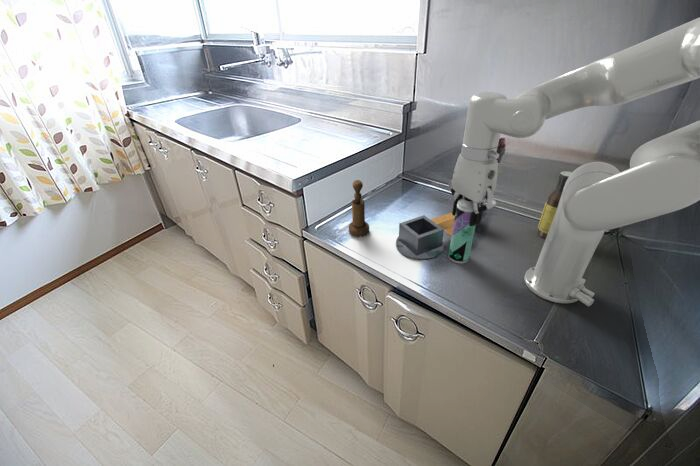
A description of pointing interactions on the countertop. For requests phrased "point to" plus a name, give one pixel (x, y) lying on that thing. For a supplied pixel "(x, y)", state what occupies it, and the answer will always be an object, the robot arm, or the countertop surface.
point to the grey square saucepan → (424, 236)
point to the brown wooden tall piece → (358, 213)
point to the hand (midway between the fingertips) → (465, 218)
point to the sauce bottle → (552, 205)
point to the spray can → (462, 232)
